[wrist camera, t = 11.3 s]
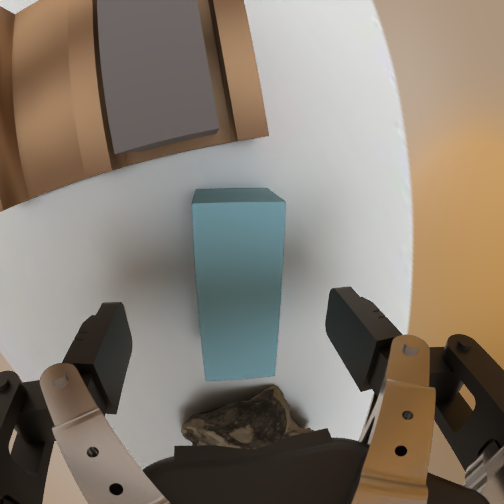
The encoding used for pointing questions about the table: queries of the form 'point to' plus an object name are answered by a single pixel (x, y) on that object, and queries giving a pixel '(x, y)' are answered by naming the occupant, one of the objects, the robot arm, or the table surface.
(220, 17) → the block
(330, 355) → the table surface
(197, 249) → the tall teal pillar
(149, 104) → the dark gray block
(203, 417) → the brown rock
